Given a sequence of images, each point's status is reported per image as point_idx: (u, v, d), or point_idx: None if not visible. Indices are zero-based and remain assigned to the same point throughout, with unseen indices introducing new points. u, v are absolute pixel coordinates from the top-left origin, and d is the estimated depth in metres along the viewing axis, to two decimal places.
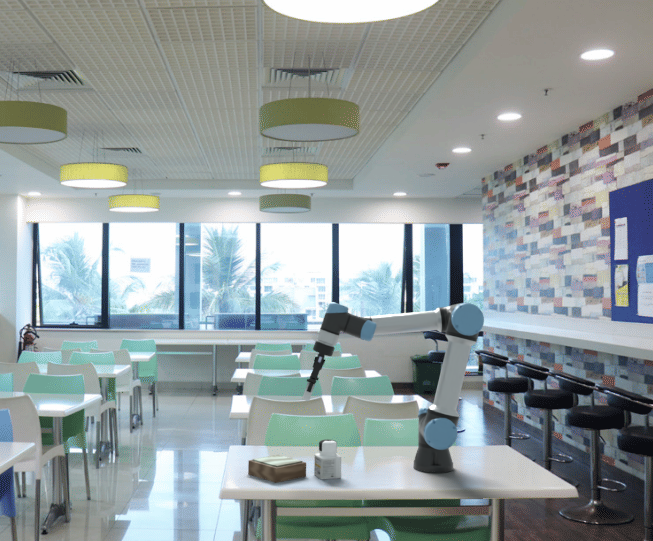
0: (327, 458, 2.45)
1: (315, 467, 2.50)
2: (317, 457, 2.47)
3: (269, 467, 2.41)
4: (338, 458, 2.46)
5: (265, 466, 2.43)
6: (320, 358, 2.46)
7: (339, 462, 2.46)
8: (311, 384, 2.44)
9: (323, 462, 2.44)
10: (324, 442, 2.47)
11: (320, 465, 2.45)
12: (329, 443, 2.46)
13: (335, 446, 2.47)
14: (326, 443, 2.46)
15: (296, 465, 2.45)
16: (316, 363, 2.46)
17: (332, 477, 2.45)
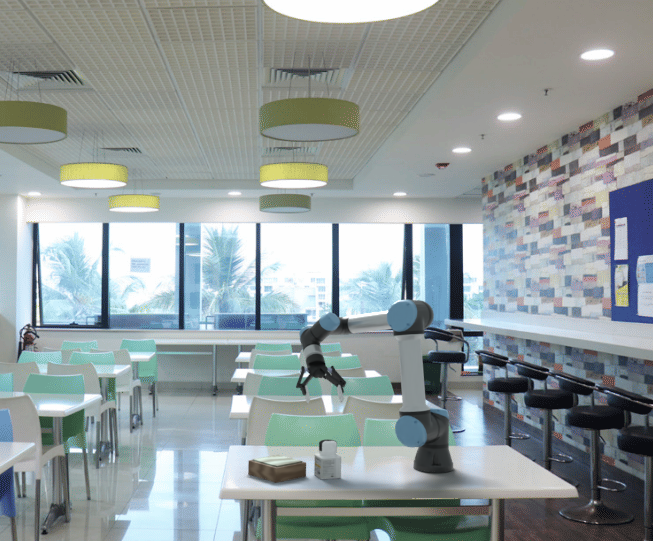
0: (327, 458, 2.45)
1: (315, 467, 2.50)
2: (317, 457, 2.47)
3: (269, 467, 2.41)
4: (338, 458, 2.46)
5: (265, 466, 2.43)
6: (301, 368, 2.73)
7: (339, 462, 2.46)
8: (301, 388, 2.65)
9: (323, 462, 2.44)
10: (324, 442, 2.47)
11: (320, 465, 2.45)
12: (329, 443, 2.46)
13: (335, 446, 2.47)
14: (326, 443, 2.46)
15: (296, 465, 2.45)
16: (300, 374, 2.71)
17: (332, 477, 2.45)
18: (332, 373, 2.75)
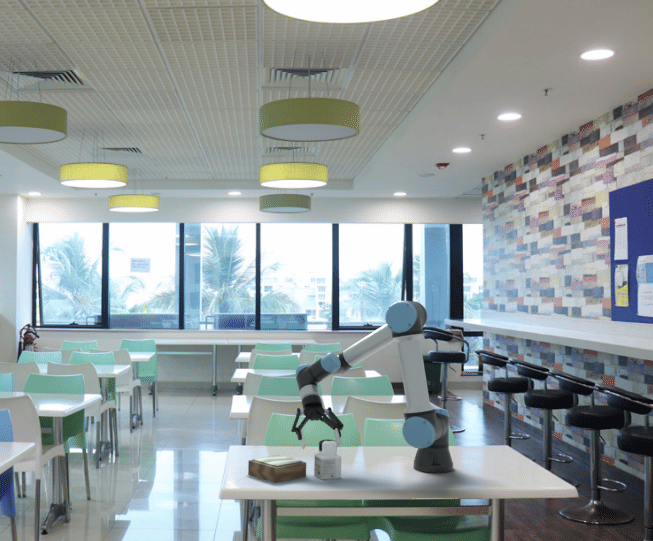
0: (327, 458, 2.45)
1: (315, 467, 2.50)
2: (317, 457, 2.47)
3: (269, 467, 2.41)
4: (338, 458, 2.46)
5: (265, 466, 2.43)
6: (296, 411, 2.62)
7: (339, 462, 2.46)
8: (297, 432, 2.55)
9: (323, 462, 2.44)
10: (324, 442, 2.47)
11: (320, 465, 2.45)
12: (329, 443, 2.46)
13: (335, 446, 2.47)
14: (326, 443, 2.46)
15: (296, 465, 2.45)
16: None
17: (332, 477, 2.45)
18: (329, 415, 2.65)
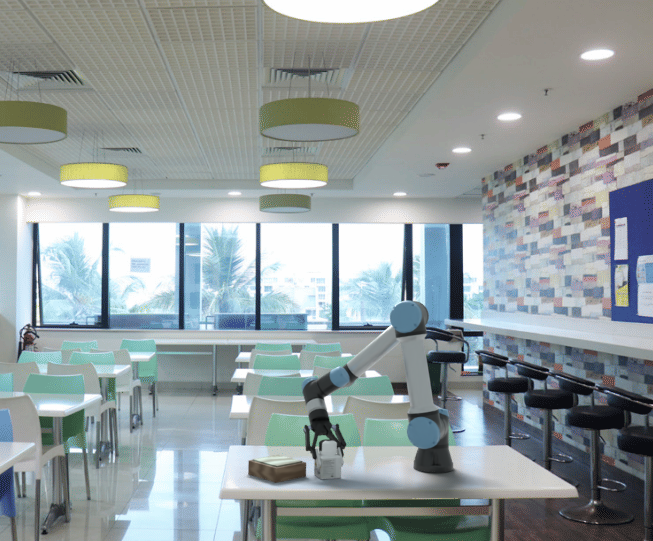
0: (327, 458, 2.45)
1: (315, 467, 2.50)
2: None
3: (269, 467, 2.41)
4: (338, 458, 2.46)
5: (265, 466, 2.43)
6: (304, 428, 2.55)
7: (339, 462, 2.46)
8: (312, 451, 2.48)
9: (323, 462, 2.44)
10: (324, 442, 2.47)
11: None
12: (329, 443, 2.46)
13: (335, 446, 2.47)
14: (326, 443, 2.46)
15: (296, 465, 2.45)
16: (305, 434, 2.54)
17: (332, 477, 2.45)
18: (335, 431, 2.57)
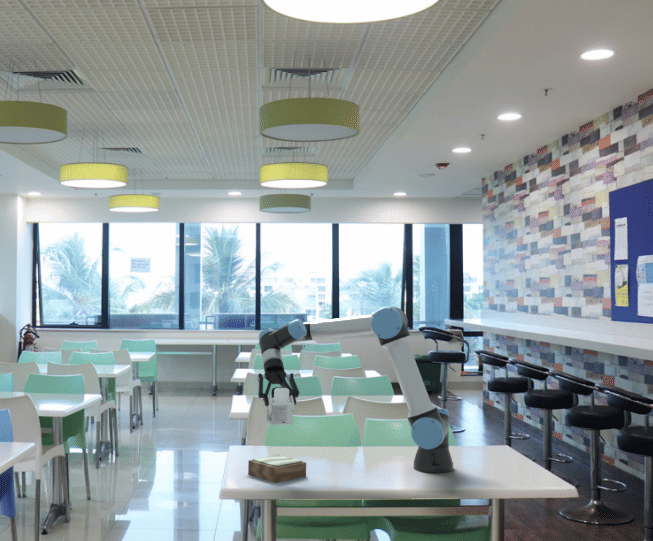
0: (279, 404, 2.46)
1: (267, 414, 2.51)
2: None
3: (269, 467, 2.41)
4: (290, 405, 2.48)
5: (265, 466, 2.43)
6: (258, 376, 2.57)
7: (291, 409, 2.48)
8: (264, 398, 2.50)
9: (274, 408, 2.46)
10: (276, 389, 2.49)
11: None
12: (281, 390, 2.48)
13: (287, 393, 2.49)
14: (278, 390, 2.48)
15: (296, 465, 2.45)
16: (259, 382, 2.56)
17: (283, 423, 2.47)
18: (289, 381, 2.59)
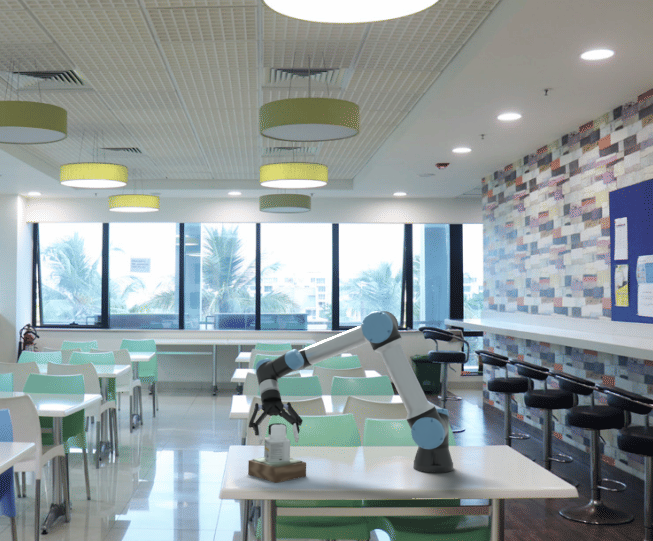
0: (275, 441, 2.45)
1: (265, 451, 2.51)
2: (266, 441, 2.48)
3: (269, 467, 2.41)
4: (287, 441, 2.47)
5: (265, 466, 2.43)
6: None
7: (288, 445, 2.47)
8: (254, 427, 2.49)
9: (271, 446, 2.45)
10: (273, 425, 2.48)
11: (268, 448, 2.46)
12: (278, 426, 2.47)
13: (284, 430, 2.48)
14: (275, 426, 2.47)
15: (296, 465, 2.45)
16: None
17: (280, 460, 2.46)
18: (288, 410, 2.59)
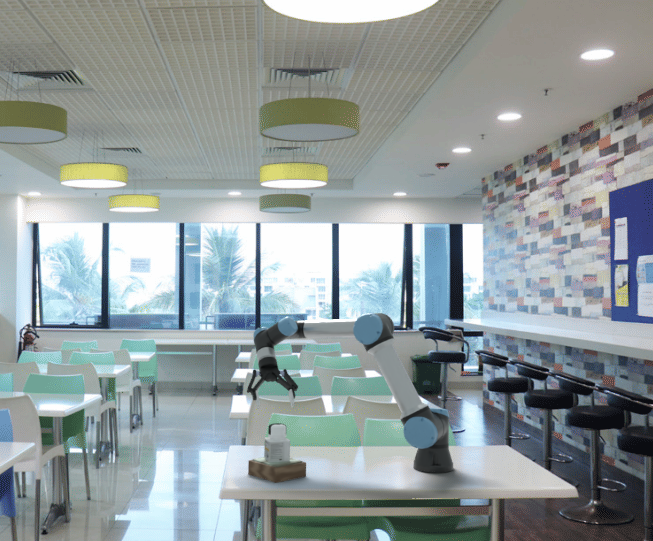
0: (275, 441, 2.45)
1: (264, 451, 2.51)
2: (266, 441, 2.48)
3: (269, 467, 2.41)
4: (287, 441, 2.47)
5: (265, 466, 2.43)
6: None
7: (288, 445, 2.47)
8: (252, 393, 2.63)
9: (271, 446, 2.45)
10: (273, 425, 2.48)
11: (268, 448, 2.46)
12: (278, 426, 2.47)
13: (284, 430, 2.48)
14: (275, 426, 2.47)
15: (296, 465, 2.45)
16: None
17: (280, 460, 2.46)
18: (284, 376, 2.73)
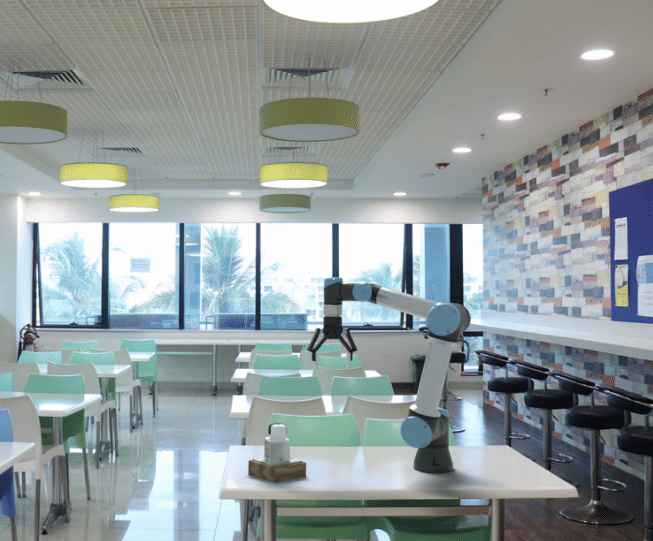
0: (275, 441, 2.45)
1: (264, 451, 2.51)
2: (266, 441, 2.48)
3: (269, 467, 2.41)
4: (287, 441, 2.47)
5: (265, 466, 2.43)
6: (316, 329, 2.71)
7: (288, 445, 2.47)
8: (312, 354, 2.70)
9: (271, 446, 2.45)
10: (273, 425, 2.48)
11: (268, 448, 2.46)
12: (278, 426, 2.47)
13: (284, 430, 2.48)
14: (275, 426, 2.47)
15: (296, 465, 2.45)
16: (314, 334, 2.71)
17: (280, 460, 2.46)
18: (346, 335, 2.75)
